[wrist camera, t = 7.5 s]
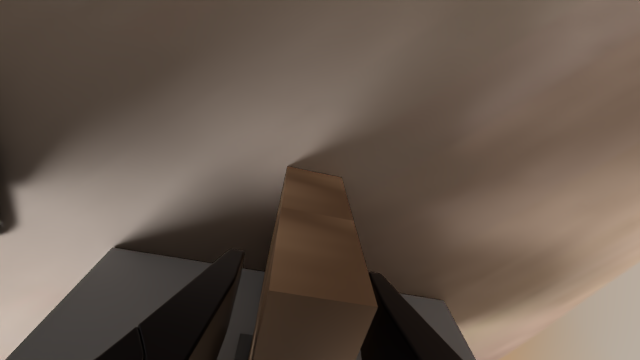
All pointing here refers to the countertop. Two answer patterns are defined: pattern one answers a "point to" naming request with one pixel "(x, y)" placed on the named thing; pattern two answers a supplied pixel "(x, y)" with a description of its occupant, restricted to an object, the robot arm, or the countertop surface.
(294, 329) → the cross plate
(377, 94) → the countertop surface
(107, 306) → the base plate
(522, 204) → the countertop surface
